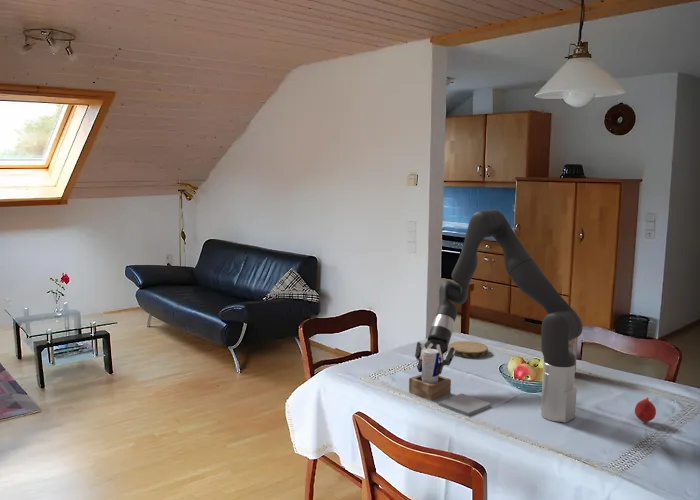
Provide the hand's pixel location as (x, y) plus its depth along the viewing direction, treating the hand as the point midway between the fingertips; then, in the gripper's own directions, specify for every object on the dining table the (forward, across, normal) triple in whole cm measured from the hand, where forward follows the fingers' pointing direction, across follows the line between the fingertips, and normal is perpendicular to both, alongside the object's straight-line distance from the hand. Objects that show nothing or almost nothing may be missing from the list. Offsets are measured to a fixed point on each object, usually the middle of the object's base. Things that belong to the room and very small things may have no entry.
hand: (428, 372), depth 206 cm
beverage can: (+4, 0, +7) cm, 8 cm away
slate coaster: (+8, +14, +3) cm, 16 cm away
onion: (-2, +66, +13) cm, 67 cm away
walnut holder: (+4, 0, +7) cm, 8 cm away
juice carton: (-28, +37, +39) cm, 60 cm away
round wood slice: (-32, -3, +44) cm, 55 cm away
